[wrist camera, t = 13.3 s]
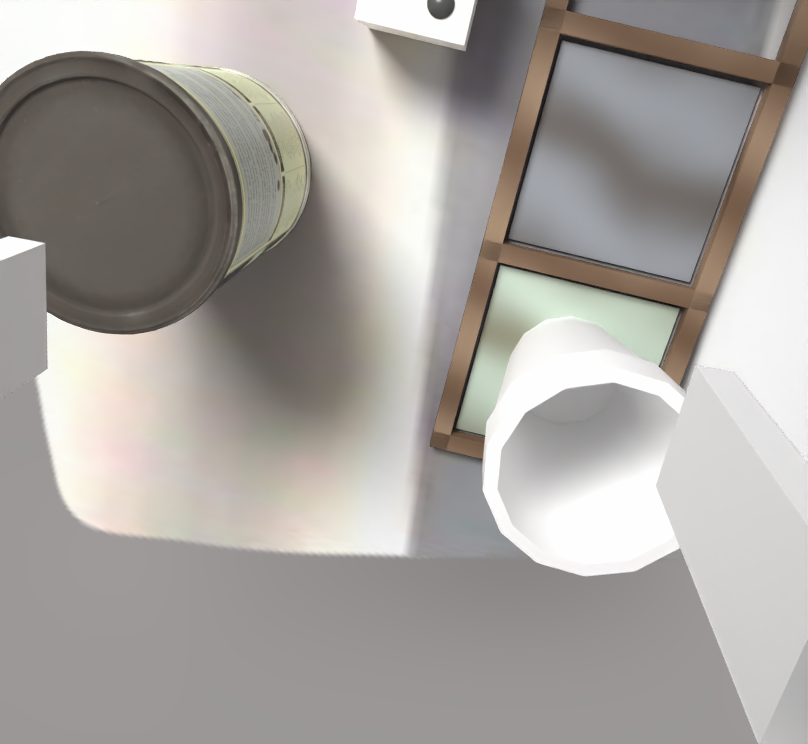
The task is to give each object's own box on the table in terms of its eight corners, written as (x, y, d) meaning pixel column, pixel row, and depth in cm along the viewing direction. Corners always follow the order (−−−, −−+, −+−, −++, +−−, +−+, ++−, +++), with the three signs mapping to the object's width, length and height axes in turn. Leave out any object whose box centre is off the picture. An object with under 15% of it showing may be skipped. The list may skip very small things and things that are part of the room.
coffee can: (244, 298, 44) (143, 386, 31) (92, 181, 42) (-81, 221, 29) (352, 153, 41) (292, 181, 27) (192, 21, 39) (47, -17, 26)
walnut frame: (619, -277, 33) (622, -286, 33) (899, -211, 33) (909, -218, 33) (430, 440, 46) (429, 446, 45) (634, 490, 46) (637, 496, 45)
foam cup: (587, 472, 45) (628, 611, 33) (451, 398, 45) (442, 512, 32) (684, 339, 42) (768, 439, 30) (539, 257, 41) (565, 325, 29)
